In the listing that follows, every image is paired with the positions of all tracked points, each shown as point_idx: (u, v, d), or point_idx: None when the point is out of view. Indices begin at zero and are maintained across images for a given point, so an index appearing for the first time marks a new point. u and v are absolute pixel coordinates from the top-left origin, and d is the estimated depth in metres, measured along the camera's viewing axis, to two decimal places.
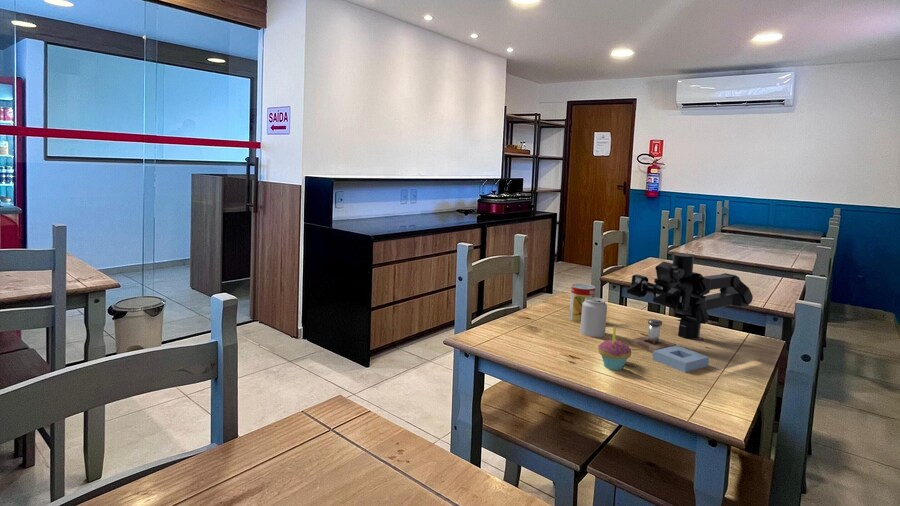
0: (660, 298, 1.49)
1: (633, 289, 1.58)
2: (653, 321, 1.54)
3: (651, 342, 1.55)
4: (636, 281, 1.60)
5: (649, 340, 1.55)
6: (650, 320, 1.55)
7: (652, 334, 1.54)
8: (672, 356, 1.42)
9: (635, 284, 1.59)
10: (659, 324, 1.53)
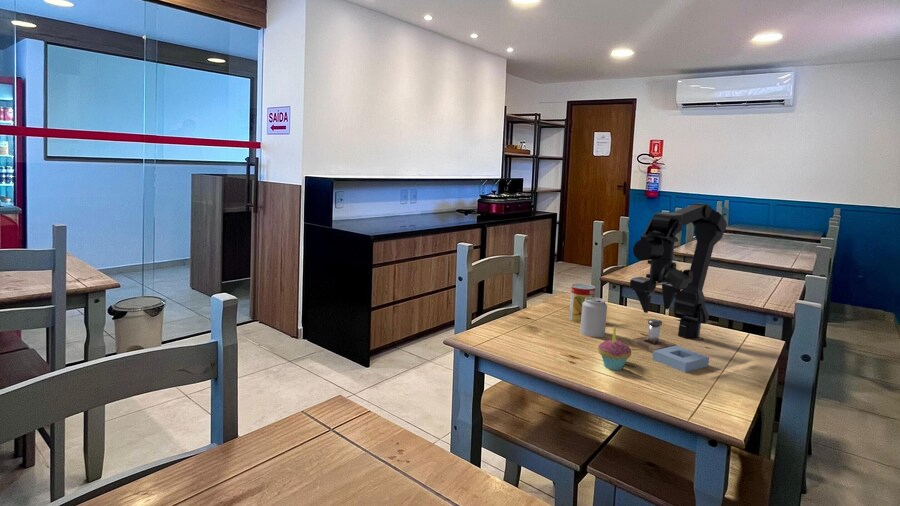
0: None
1: None
2: (653, 321, 1.54)
3: (651, 342, 1.55)
4: (649, 295, 1.49)
5: (649, 340, 1.55)
6: (650, 320, 1.55)
7: (652, 334, 1.54)
8: (672, 356, 1.42)
9: (649, 299, 1.50)
10: (659, 324, 1.53)
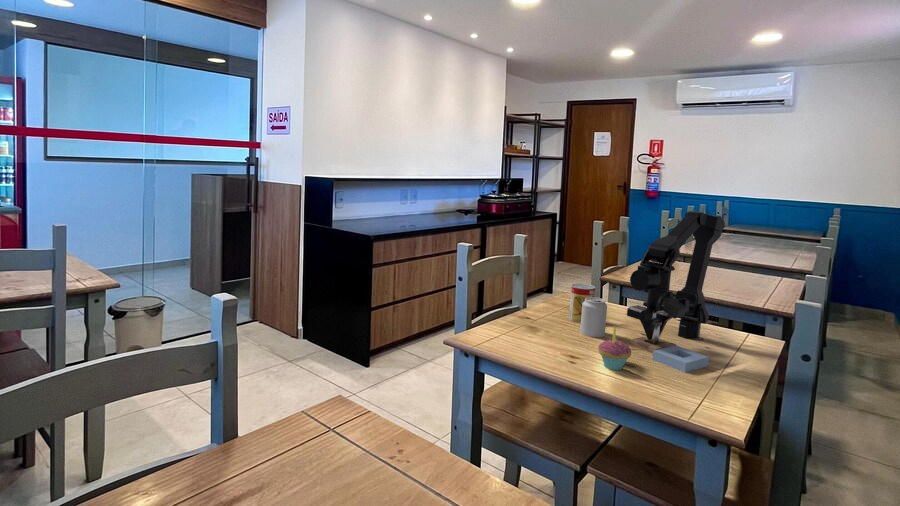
0: None
1: None
2: None
3: (651, 342, 1.55)
4: (653, 323, 1.52)
5: (649, 340, 1.55)
6: None
7: None
8: (672, 356, 1.42)
9: (653, 326, 1.53)
10: (659, 324, 1.53)
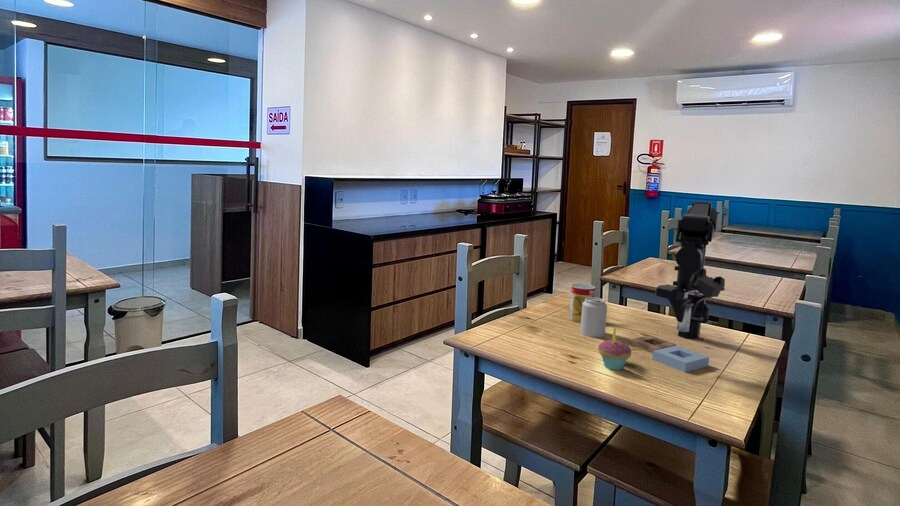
0: None
1: None
2: None
3: (681, 325, 1.41)
4: (684, 303, 1.38)
5: (679, 323, 1.42)
6: None
7: None
8: (672, 356, 1.42)
9: (684, 307, 1.39)
10: (691, 305, 1.40)
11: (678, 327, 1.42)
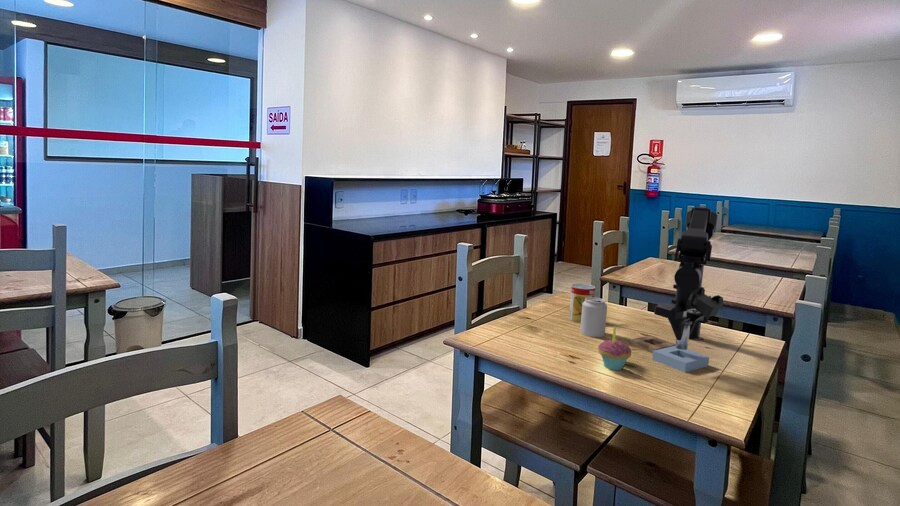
0: None
1: None
2: None
3: (680, 343, 1.42)
4: (683, 322, 1.39)
5: (678, 341, 1.42)
6: None
7: None
8: (672, 356, 1.42)
9: (682, 326, 1.40)
10: (689, 323, 1.40)
11: (677, 345, 1.43)
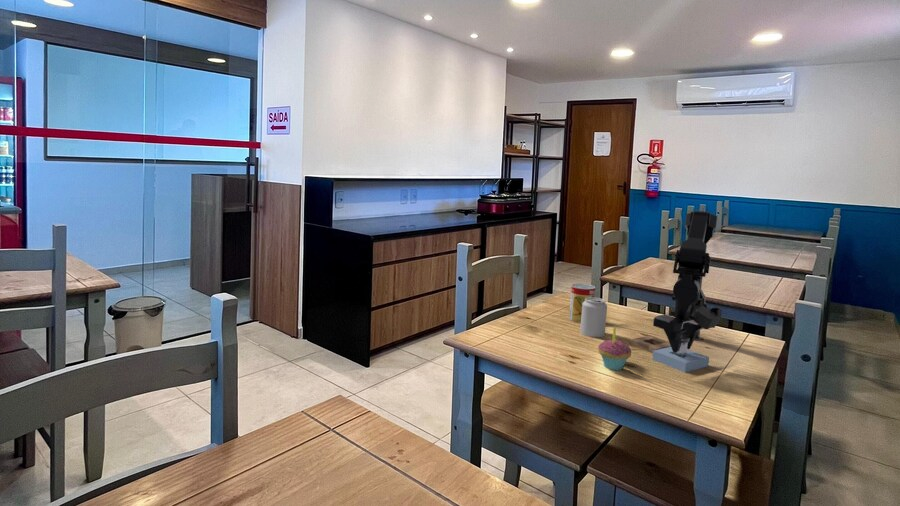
0: None
1: None
2: None
3: None
4: (679, 334, 1.39)
5: None
6: None
7: (679, 350, 1.42)
8: (672, 356, 1.42)
9: (679, 338, 1.40)
10: (687, 340, 1.41)
11: None
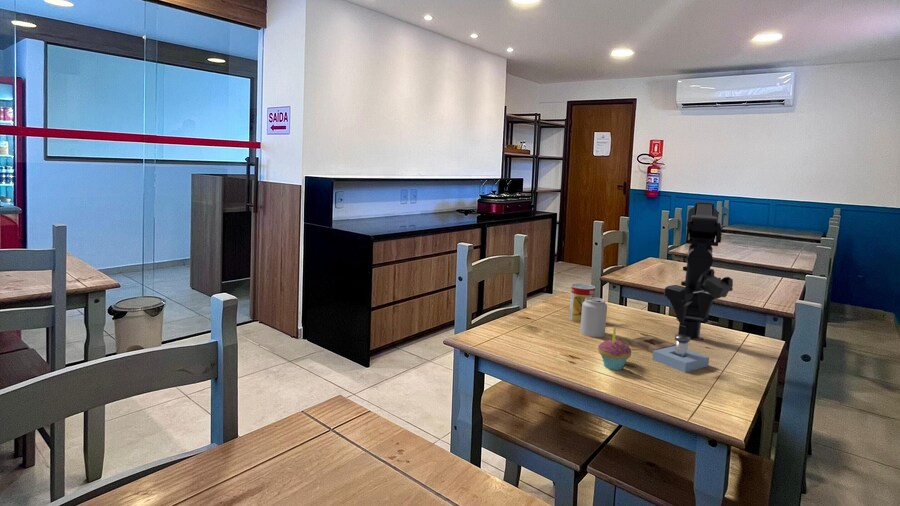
0: None
1: None
2: (681, 337, 1.42)
3: None
4: (685, 305, 1.38)
5: None
6: (677, 335, 1.43)
7: (679, 350, 1.42)
8: (672, 356, 1.42)
9: (685, 309, 1.40)
10: (687, 340, 1.41)
11: None
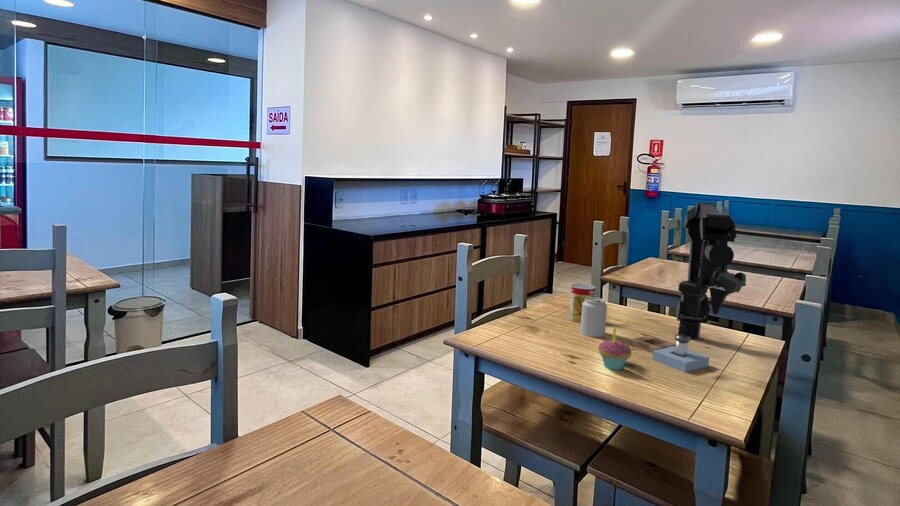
0: None
1: None
2: (681, 337, 1.42)
3: None
4: (700, 299, 1.41)
5: None
6: (677, 335, 1.43)
7: (679, 350, 1.42)
8: (672, 356, 1.42)
9: (699, 303, 1.42)
10: (687, 340, 1.41)
11: None
